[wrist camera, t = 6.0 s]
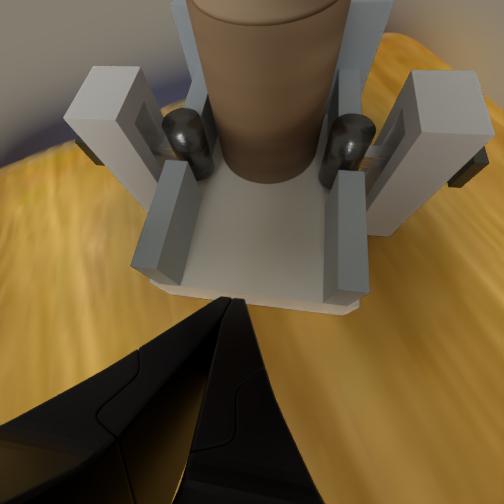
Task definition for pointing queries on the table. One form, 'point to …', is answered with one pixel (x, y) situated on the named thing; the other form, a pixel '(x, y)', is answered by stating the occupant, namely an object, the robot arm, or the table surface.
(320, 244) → the channel
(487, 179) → the table surface
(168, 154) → the plunger
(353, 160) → the plunger
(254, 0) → the peg
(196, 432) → the robot arm
